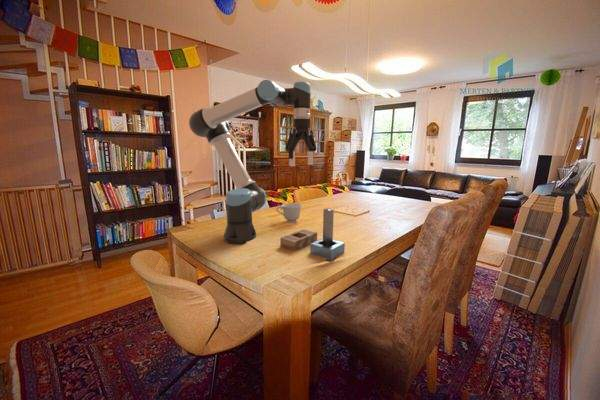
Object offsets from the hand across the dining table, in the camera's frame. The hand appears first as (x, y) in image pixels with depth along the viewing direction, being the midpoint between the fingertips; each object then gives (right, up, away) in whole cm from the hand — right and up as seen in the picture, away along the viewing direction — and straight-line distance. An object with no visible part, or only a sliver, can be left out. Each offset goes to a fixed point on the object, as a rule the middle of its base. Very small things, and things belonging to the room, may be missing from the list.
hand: (301, 165), depth 122 cm
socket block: (+10, -39, -17) cm, 44 cm away
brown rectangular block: (-1, -37, -7) cm, 38 cm away
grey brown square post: (+11, -38, -17) cm, 43 cm away
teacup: (-7, -29, +30) cm, 43 cm away
